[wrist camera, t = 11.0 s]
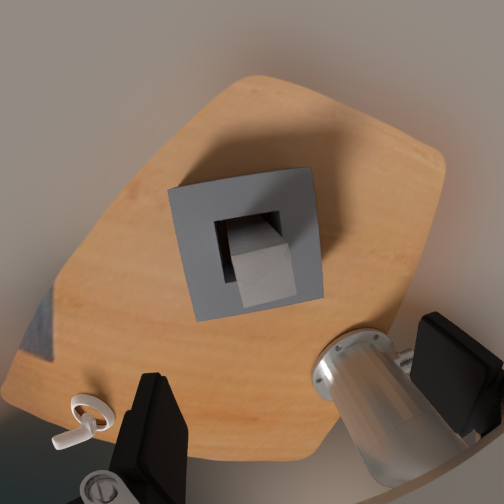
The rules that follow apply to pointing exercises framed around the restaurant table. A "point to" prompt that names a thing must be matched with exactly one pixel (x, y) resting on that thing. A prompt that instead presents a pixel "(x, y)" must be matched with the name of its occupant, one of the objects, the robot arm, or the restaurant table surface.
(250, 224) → the steel post
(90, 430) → the hook
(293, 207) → the well block
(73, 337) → the restaurant table surface
